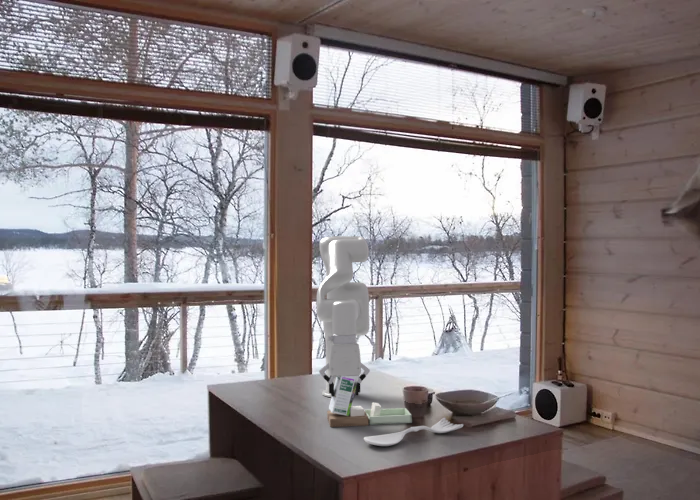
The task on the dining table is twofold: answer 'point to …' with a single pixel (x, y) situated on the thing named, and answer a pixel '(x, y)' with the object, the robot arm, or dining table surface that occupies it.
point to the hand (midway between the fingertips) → (344, 394)
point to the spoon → (396, 437)
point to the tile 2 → (375, 409)
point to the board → (346, 420)
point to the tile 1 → (356, 411)
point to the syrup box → (343, 394)
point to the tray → (390, 416)
